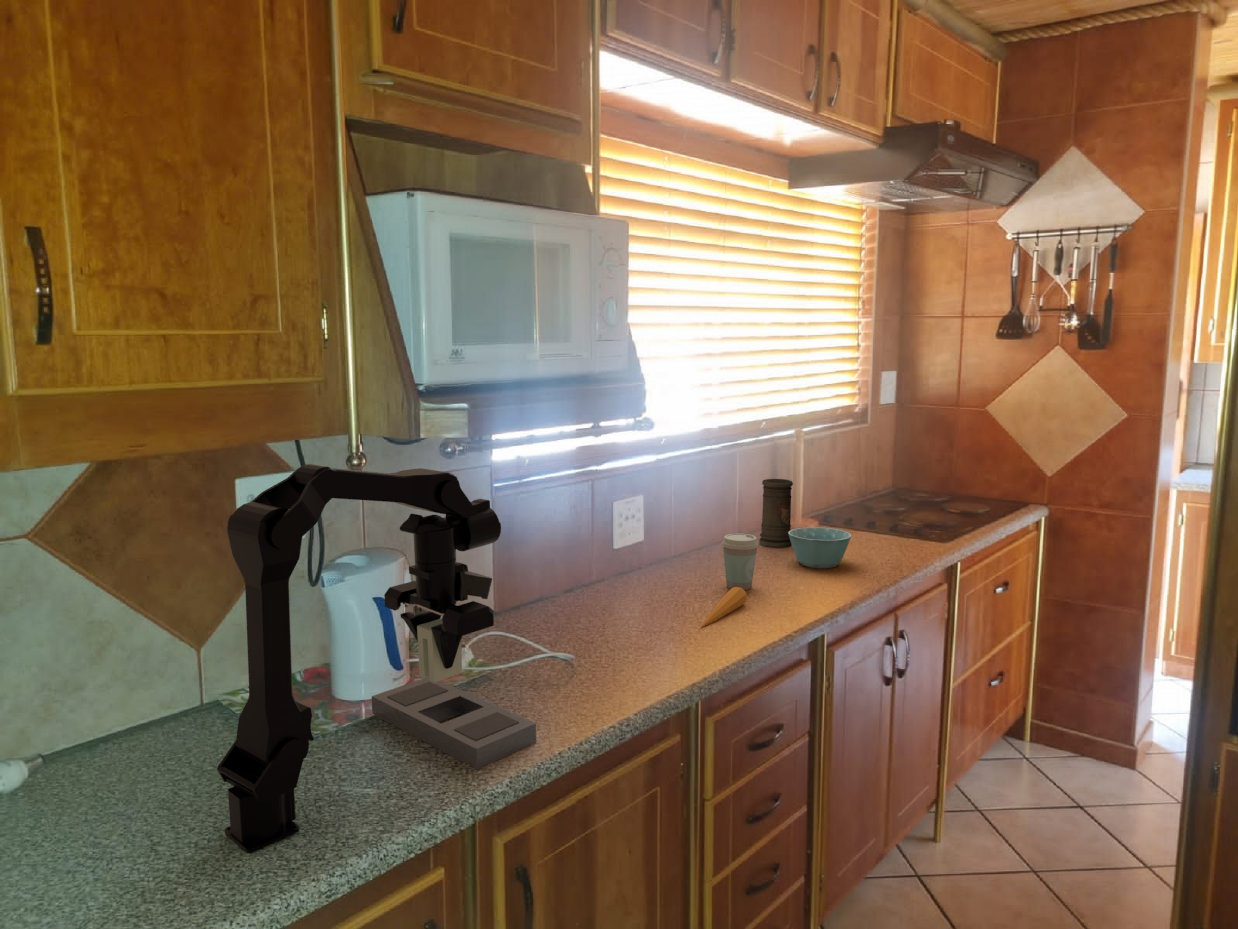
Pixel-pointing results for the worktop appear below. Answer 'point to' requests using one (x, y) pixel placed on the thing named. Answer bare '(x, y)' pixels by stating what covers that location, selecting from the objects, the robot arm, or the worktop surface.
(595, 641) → the worktop surface
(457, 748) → the grey slotted tray
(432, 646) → the beige slotted block
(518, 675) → the worktop surface
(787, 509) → the container
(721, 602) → the carrot
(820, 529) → the bowl
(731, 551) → the coffee cup
